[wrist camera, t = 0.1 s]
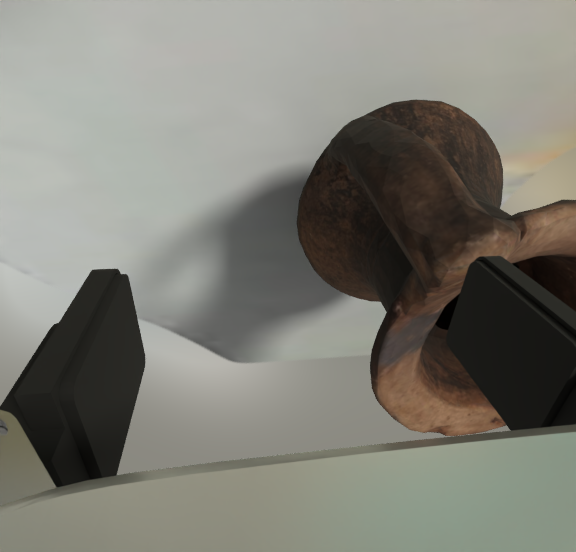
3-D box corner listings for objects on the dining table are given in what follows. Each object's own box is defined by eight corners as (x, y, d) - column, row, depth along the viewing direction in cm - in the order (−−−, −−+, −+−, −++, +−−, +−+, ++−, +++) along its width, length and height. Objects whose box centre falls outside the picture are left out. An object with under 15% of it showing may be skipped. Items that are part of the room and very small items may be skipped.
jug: (474, 183, 44) (822, 370, 18) (351, 282, 48) (488, 539, 23) (373, 20, 34) (816, -76, 8) (231, 164, 39) (237, 382, 13)
